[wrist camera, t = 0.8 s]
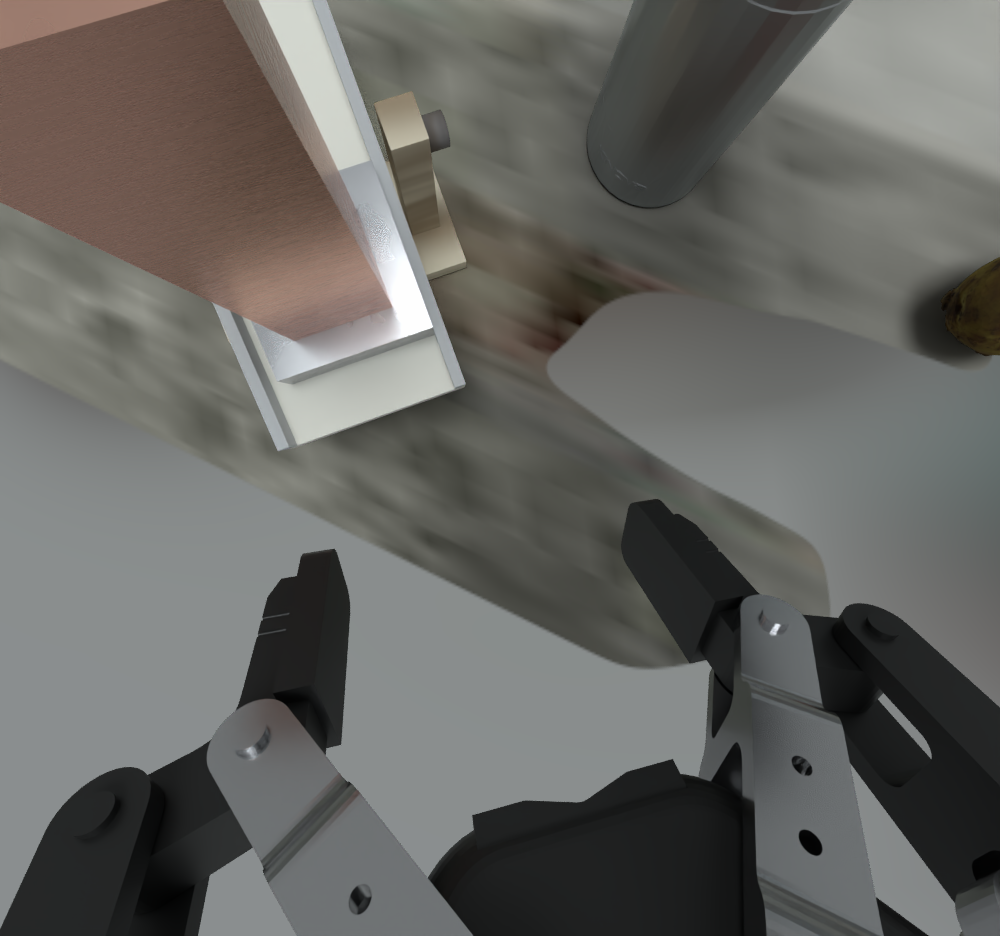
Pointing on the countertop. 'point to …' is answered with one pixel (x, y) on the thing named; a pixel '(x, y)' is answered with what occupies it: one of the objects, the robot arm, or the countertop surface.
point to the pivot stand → (420, 180)
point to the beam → (351, 141)
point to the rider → (202, 171)
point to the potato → (976, 310)
